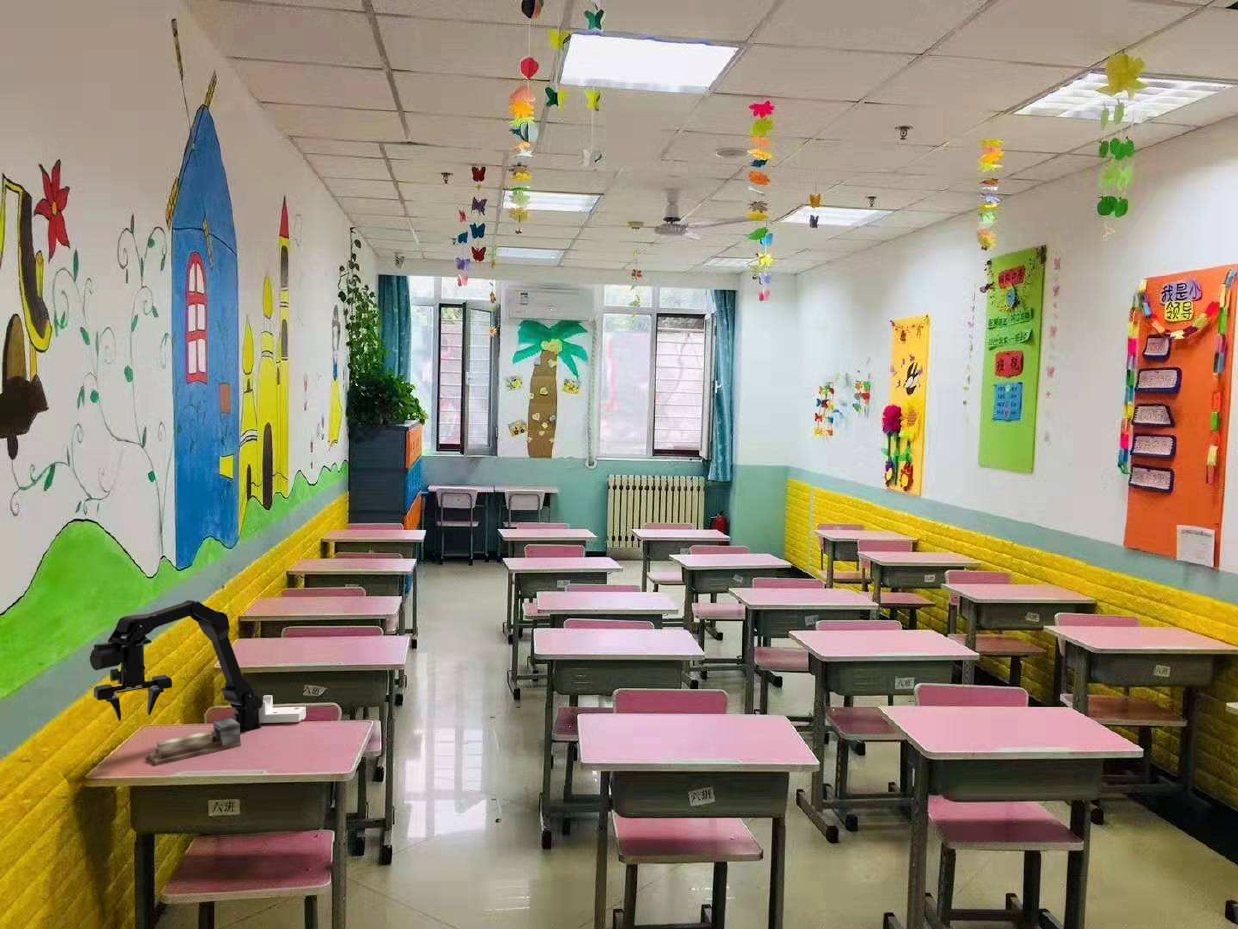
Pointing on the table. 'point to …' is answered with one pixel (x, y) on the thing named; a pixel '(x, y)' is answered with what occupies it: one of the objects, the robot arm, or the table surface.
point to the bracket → (279, 712)
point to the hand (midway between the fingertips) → (134, 717)
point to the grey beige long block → (184, 742)
